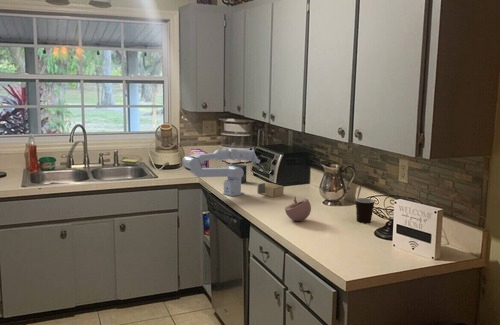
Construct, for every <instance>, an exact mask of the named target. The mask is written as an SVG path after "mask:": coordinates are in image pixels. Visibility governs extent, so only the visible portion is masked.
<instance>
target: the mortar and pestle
mask: <svg viewBox="0 0 500 325" xmlns="http://www.w3.org/2000/svg"><path fill="white" fill-rule="evenodd" d="M284 211H285V214H286V216H287V217H288V218H289V219H290V220H292V221H295V222H301V221H304V220H306V219H308V217H309V216H310V215H311V211H312V205H311V202H310V201H309V199H308V198H303V199H300V200H297V197H296V196H293V202H292V203H291V204H289V205H287V206H286V207H285V208H284Z"/></svg>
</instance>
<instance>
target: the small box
mask: <svg viewBox="0 0 500 325" xmlns="http://www.w3.org/2000/svg"><path fill="white" fill-rule="evenodd" d="M230 165H232V166H235V167H238V168H242V169H243V172H244V174H243V176H242V178H241V184H244V183H247V165H244V164H236V163H231V164H229V165H227V167H228V166H230Z"/></svg>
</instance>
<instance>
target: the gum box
mask: <svg viewBox="0 0 500 325" xmlns="http://www.w3.org/2000/svg"><path fill="white" fill-rule="evenodd" d="M188 153H189V156H190V155H195V154H207V153H208V151H206V150H203V149H201V148H189V152H188ZM190 157H191V156H190ZM201 168H210V160H206V161H203V162H202V164H201Z"/></svg>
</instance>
